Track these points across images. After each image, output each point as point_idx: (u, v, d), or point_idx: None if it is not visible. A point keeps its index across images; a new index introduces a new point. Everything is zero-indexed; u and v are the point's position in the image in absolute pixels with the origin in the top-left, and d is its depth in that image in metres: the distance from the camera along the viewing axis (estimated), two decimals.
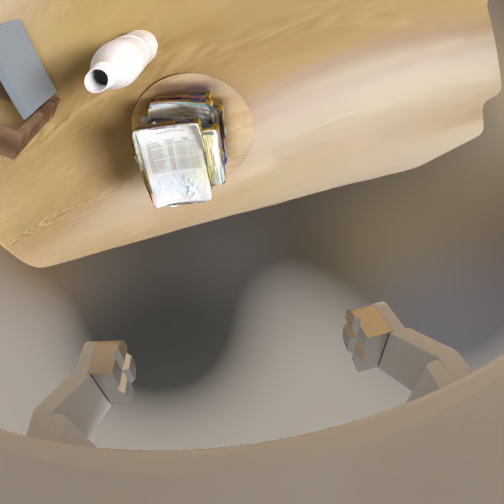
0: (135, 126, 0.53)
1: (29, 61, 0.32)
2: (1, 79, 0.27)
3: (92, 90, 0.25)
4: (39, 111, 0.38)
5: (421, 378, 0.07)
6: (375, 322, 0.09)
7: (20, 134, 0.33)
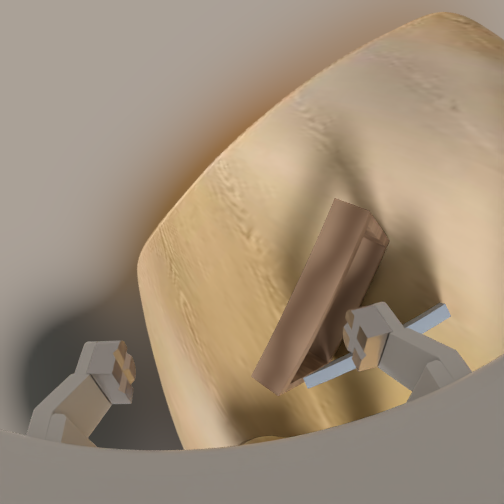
0: None
1: None
2: None
3: None
4: (312, 372, 0.41)
5: (421, 378, 0.07)
6: (375, 322, 0.09)
7: (283, 391, 0.33)
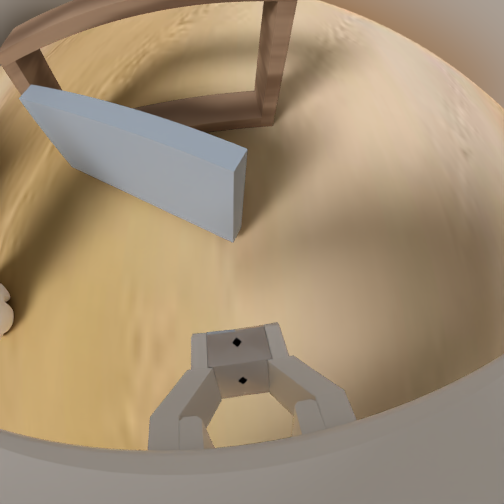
0: None
1: (121, 177, 0.23)
2: (96, 102, 0.16)
3: None
4: None
5: (294, 416, 0.07)
6: (256, 346, 0.09)
7: (3, 62, 0.13)
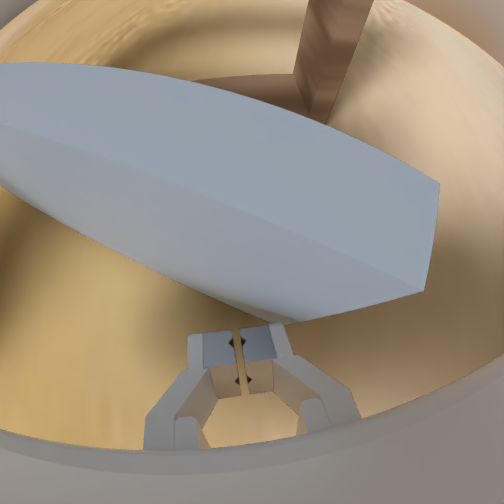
0: None
1: (68, 219, 0.12)
2: None
3: None
4: None
5: (299, 415, 0.07)
6: (261, 345, 0.09)
7: None
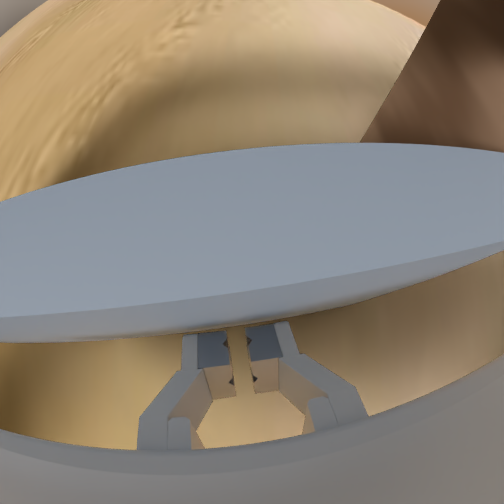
0: None
1: (116, 336, 0.10)
2: None
3: None
4: None
5: (306, 414, 0.07)
6: (266, 344, 0.09)
7: None
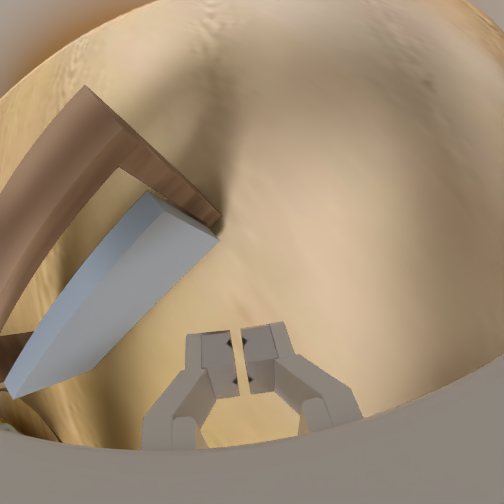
0: (30, 412, 0.29)
1: (120, 323, 0.23)
2: (45, 321, 0.15)
3: None
4: None
5: (301, 415, 0.07)
6: (262, 345, 0.09)
7: None
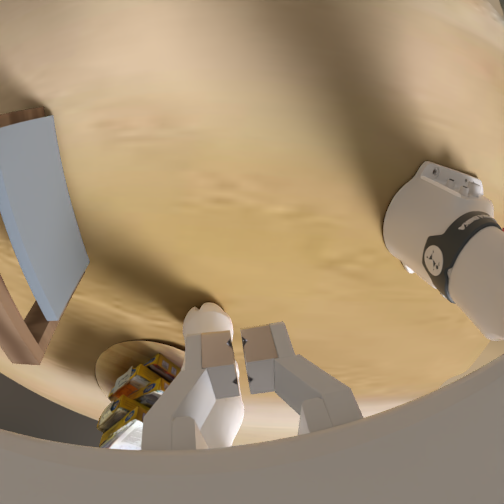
0: (114, 350, 0.45)
1: (57, 208, 0.28)
2: (14, 244, 0.21)
3: None
4: None
5: (301, 415, 0.07)
6: (262, 345, 0.09)
7: (41, 355, 0.23)
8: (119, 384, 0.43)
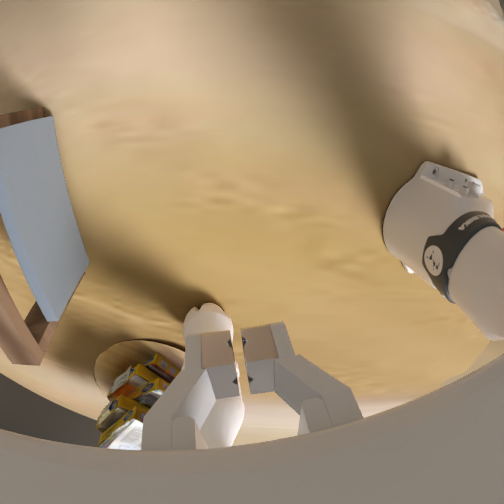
0: (113, 350, 0.45)
1: (57, 209, 0.28)
2: (14, 245, 0.21)
3: None
4: None
5: (301, 415, 0.07)
6: (262, 345, 0.09)
7: (41, 355, 0.23)
8: (117, 384, 0.43)
